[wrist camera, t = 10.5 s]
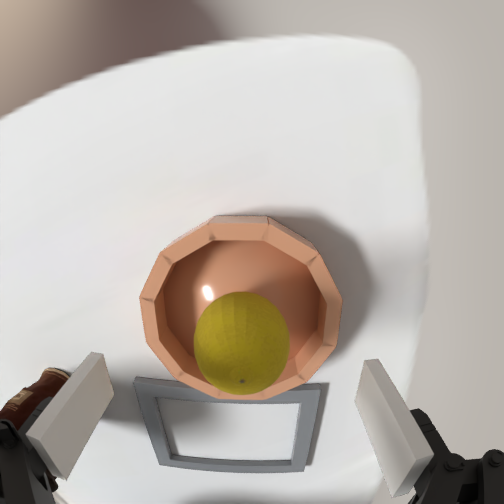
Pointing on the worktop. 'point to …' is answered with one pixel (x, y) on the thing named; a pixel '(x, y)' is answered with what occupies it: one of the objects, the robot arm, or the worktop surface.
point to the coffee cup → (34, 403)
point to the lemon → (241, 343)
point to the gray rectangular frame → (181, 391)
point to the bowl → (240, 280)
